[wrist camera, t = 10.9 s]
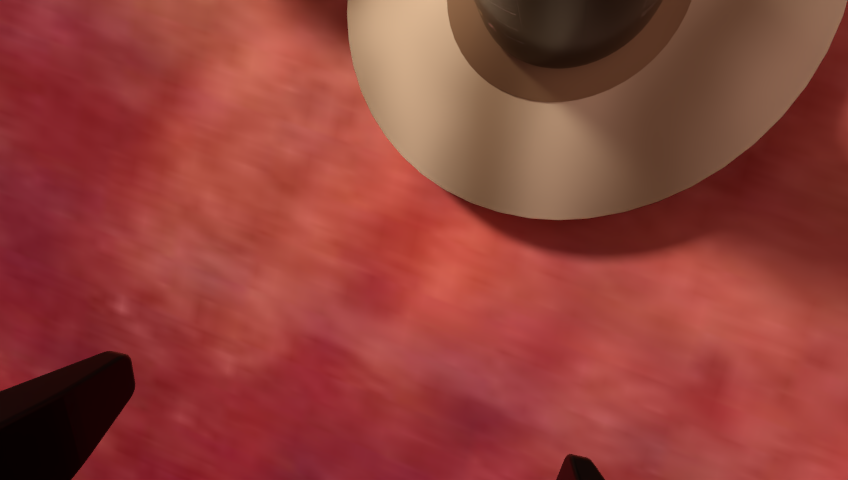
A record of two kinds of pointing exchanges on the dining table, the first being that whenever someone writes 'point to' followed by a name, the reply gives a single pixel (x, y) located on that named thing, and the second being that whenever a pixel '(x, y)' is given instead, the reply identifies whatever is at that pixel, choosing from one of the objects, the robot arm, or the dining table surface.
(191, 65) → the dining table surface
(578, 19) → the supplement bottle
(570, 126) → the disc
